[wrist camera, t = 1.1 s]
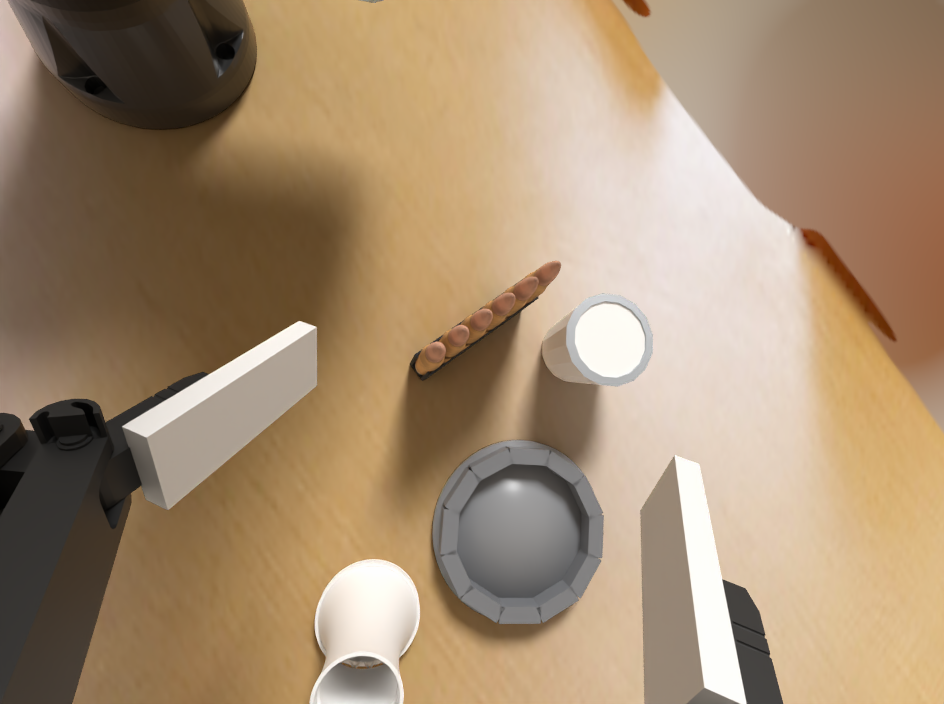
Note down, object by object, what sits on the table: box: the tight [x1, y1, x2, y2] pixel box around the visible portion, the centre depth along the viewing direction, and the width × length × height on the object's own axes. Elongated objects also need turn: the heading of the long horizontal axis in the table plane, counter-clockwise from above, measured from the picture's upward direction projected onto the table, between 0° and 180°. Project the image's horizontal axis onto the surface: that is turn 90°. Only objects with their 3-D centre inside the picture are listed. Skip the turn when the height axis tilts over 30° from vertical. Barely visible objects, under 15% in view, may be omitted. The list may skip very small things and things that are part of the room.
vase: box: [310, 559, 420, 704], centre depth 27 cm, size 8×8×10 cm
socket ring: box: [432, 440, 604, 624], centre depth 34 cm, size 14×14×2 cm
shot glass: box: [542, 293, 653, 386], centre depth 34 cm, size 7×7×7 cm
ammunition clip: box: [410, 261, 561, 381], centre depth 30 cm, size 11×2×12 cm, turn 127°
